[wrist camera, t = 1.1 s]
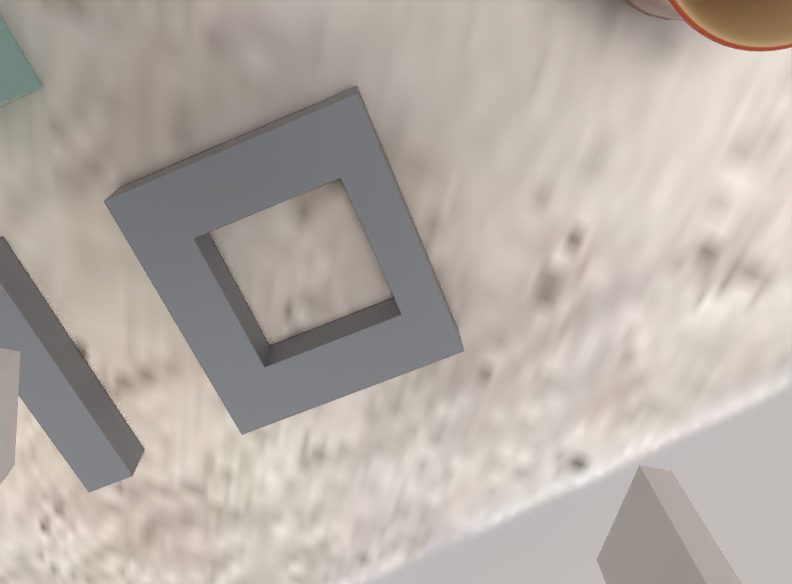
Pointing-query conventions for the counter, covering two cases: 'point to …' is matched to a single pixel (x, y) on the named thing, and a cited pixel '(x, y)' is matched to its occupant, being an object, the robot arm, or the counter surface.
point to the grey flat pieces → (221, 298)
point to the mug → (729, 20)
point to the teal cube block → (14, 69)
